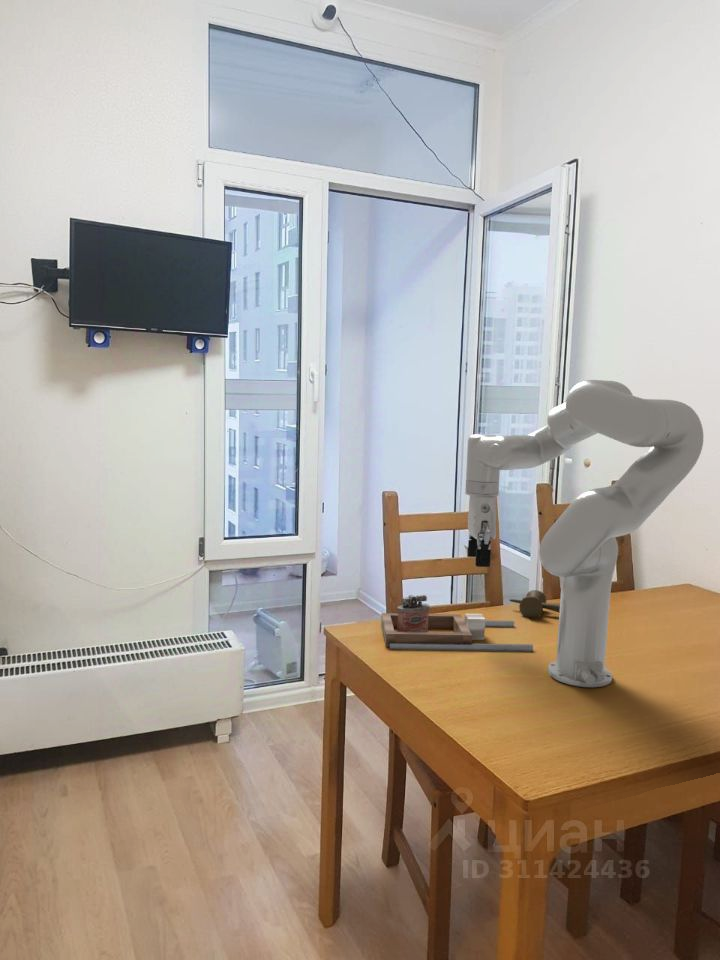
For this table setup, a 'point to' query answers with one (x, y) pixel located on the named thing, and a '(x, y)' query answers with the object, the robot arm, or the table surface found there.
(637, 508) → the robot arm
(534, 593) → the kendama
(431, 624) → the sliding frame
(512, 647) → the guide rails
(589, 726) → the table surface
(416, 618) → the lighter
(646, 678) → the table surface
